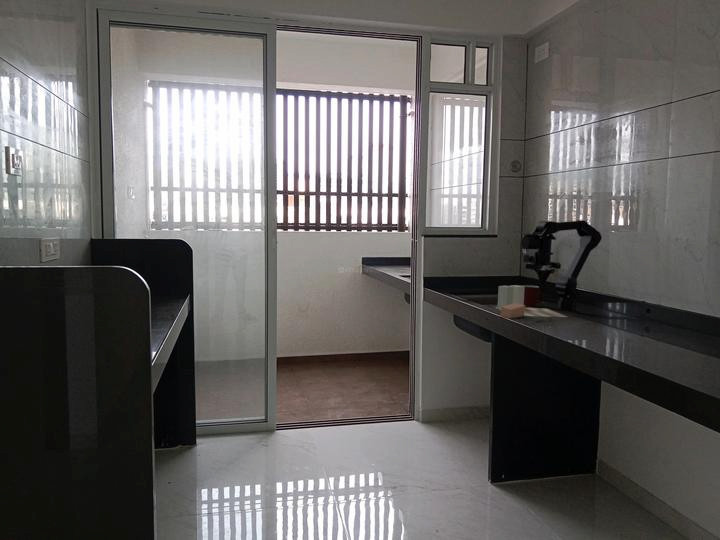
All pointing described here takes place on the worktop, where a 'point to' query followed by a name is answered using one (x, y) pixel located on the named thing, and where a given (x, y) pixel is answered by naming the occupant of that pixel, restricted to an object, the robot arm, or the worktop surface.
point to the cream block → (518, 294)
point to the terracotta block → (512, 310)
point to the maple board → (541, 312)
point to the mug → (532, 295)
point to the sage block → (505, 296)
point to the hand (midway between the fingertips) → (541, 285)
